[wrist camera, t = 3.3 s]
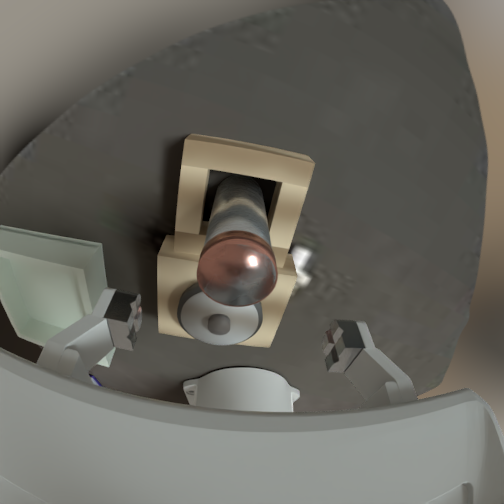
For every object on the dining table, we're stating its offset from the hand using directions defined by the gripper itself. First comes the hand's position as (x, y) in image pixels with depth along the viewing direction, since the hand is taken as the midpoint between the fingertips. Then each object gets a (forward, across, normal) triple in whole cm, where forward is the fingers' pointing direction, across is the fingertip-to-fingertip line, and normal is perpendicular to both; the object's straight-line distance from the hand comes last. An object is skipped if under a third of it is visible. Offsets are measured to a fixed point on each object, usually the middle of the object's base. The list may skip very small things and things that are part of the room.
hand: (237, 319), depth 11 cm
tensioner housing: (+14, 0, -6) cm, 15 cm away
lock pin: (+14, 0, -1) cm, 14 cm away
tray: (+14, -21, -16) cm, 30 cm away
